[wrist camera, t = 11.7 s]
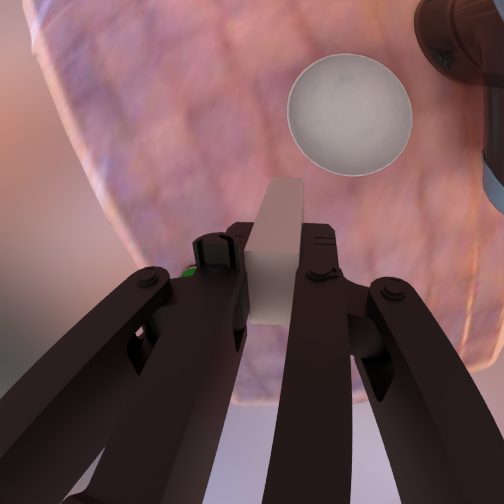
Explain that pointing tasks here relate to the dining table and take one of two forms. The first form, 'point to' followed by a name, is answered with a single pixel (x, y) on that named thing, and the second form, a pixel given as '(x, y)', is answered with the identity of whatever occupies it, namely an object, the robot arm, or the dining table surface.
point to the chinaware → (349, 114)
